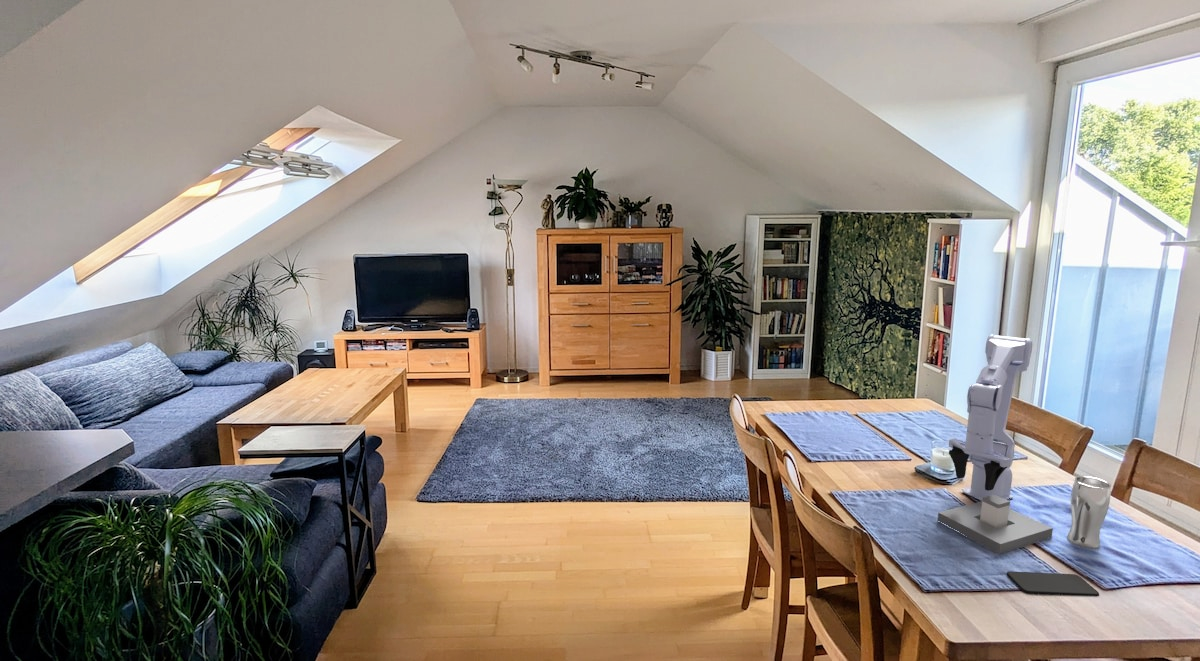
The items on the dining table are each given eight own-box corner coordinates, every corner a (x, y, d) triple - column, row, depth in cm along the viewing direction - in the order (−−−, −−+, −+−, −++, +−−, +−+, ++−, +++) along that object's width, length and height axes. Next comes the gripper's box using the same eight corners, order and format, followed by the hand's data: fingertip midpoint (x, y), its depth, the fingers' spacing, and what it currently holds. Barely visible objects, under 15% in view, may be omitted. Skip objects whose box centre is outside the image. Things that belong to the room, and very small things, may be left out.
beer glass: (1095, 536, 146) (1104, 477, 143) (1107, 551, 140) (1118, 490, 137) (1060, 532, 149) (1068, 473, 146) (1071, 546, 142) (1080, 486, 139)
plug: (990, 524, 153) (993, 494, 151) (1006, 532, 149) (1010, 501, 147) (979, 527, 151) (982, 497, 149) (994, 535, 147) (998, 504, 146)
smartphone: (1102, 594, 124) (1025, 591, 125) (1102, 599, 124) (1024, 595, 125) (1077, 573, 131) (1004, 570, 132) (1076, 577, 131) (1003, 574, 132)
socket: (987, 508, 161) (988, 499, 160) (1051, 537, 146) (1052, 528, 146) (937, 521, 154) (938, 512, 154) (999, 554, 139) (1000, 544, 139)
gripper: (942, 424, 156) (937, 474, 159) (998, 444, 143) (991, 498, 146) (961, 420, 159) (956, 470, 162) (1018, 439, 146) (1011, 492, 149)
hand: (974, 483), depth 154 cm, fingers open, 7 cm apart
